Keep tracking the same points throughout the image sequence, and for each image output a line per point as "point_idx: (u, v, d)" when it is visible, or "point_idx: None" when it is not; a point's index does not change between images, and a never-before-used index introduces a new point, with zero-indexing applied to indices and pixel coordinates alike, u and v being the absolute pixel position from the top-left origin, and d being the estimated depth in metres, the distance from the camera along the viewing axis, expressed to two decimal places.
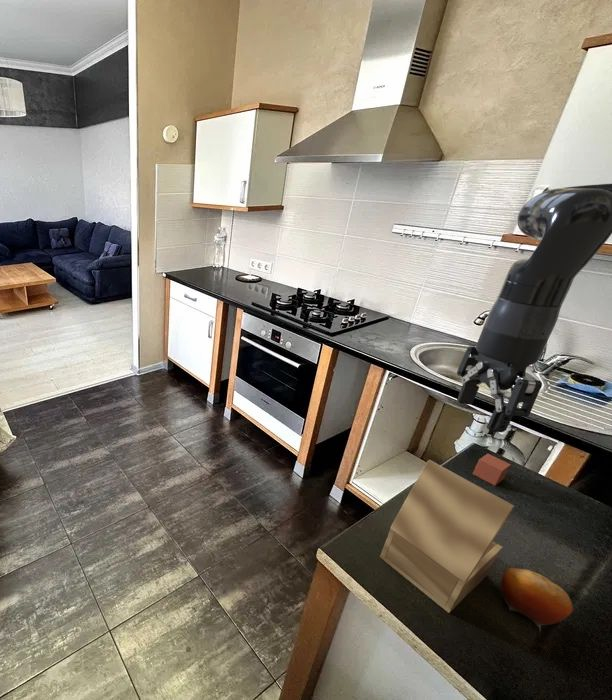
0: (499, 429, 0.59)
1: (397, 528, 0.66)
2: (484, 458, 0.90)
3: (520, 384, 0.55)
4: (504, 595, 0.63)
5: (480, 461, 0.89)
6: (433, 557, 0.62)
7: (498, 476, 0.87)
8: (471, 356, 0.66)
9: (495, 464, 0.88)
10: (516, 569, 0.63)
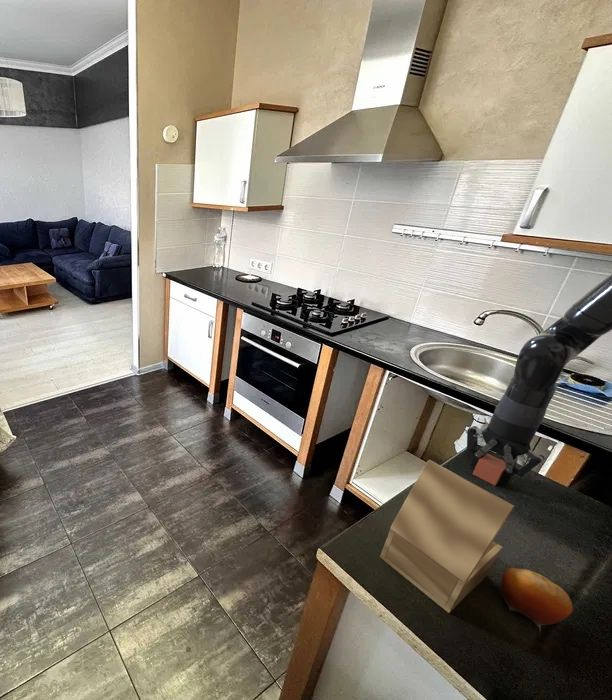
0: (507, 482, 0.87)
1: (397, 528, 0.66)
2: (484, 458, 0.90)
3: (537, 462, 0.81)
4: (504, 595, 0.63)
5: (480, 461, 0.89)
6: (433, 557, 0.62)
7: (498, 476, 0.87)
8: (475, 435, 0.90)
9: (495, 464, 0.88)
10: (516, 569, 0.63)
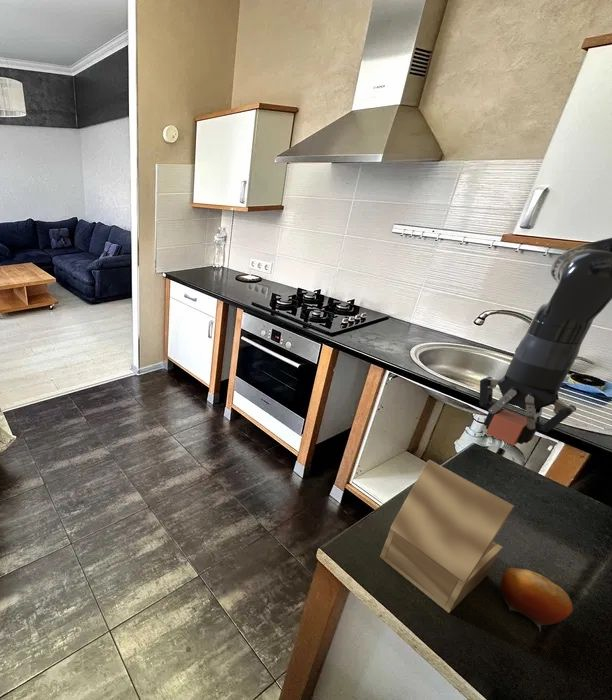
0: (528, 441, 0.72)
1: (397, 528, 0.66)
2: (500, 414, 0.75)
3: (567, 413, 0.66)
4: (504, 595, 0.63)
5: (495, 417, 0.75)
6: (433, 557, 0.62)
7: (517, 434, 0.72)
8: (490, 386, 0.75)
9: (513, 420, 0.73)
10: (516, 569, 0.63)
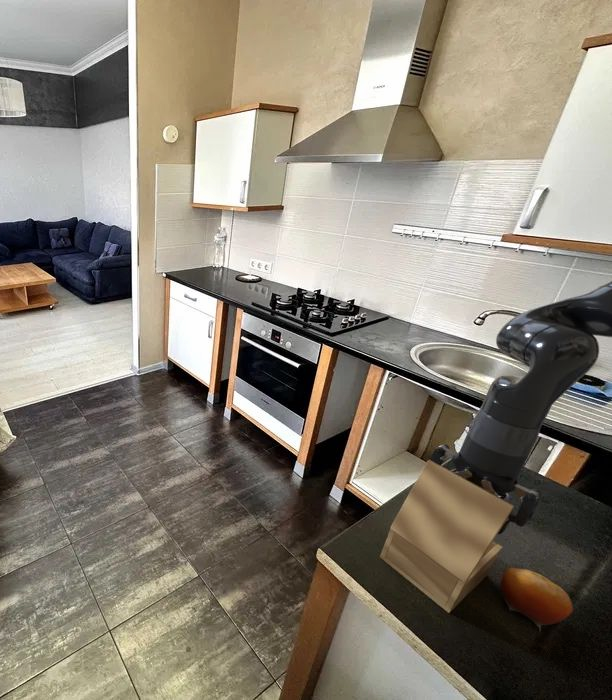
0: (501, 532, 0.61)
1: (397, 528, 0.66)
2: None
3: (532, 500, 0.56)
4: (504, 595, 0.63)
5: None
6: (433, 557, 0.62)
7: None
8: (442, 458, 0.66)
9: None
10: (516, 569, 0.63)
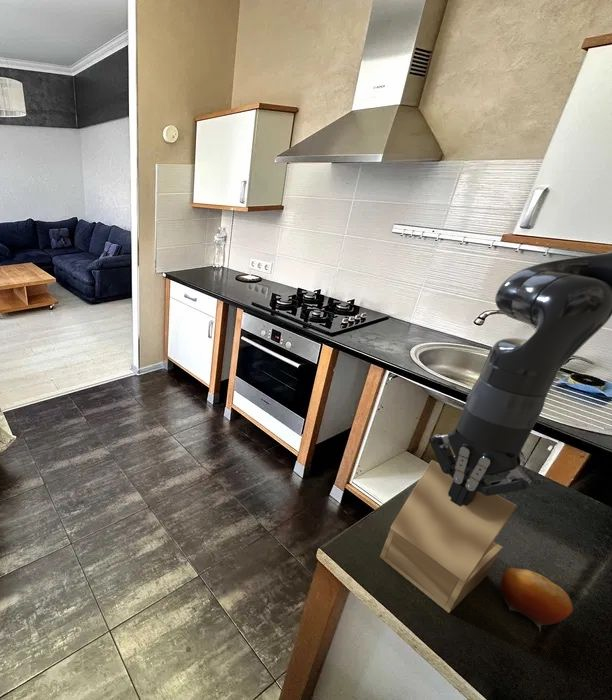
0: (468, 503, 0.59)
1: (397, 528, 0.66)
2: None
3: (522, 487, 0.52)
4: (504, 595, 0.63)
5: None
6: (433, 557, 0.62)
7: None
8: (442, 445, 0.60)
9: None
10: (516, 569, 0.63)
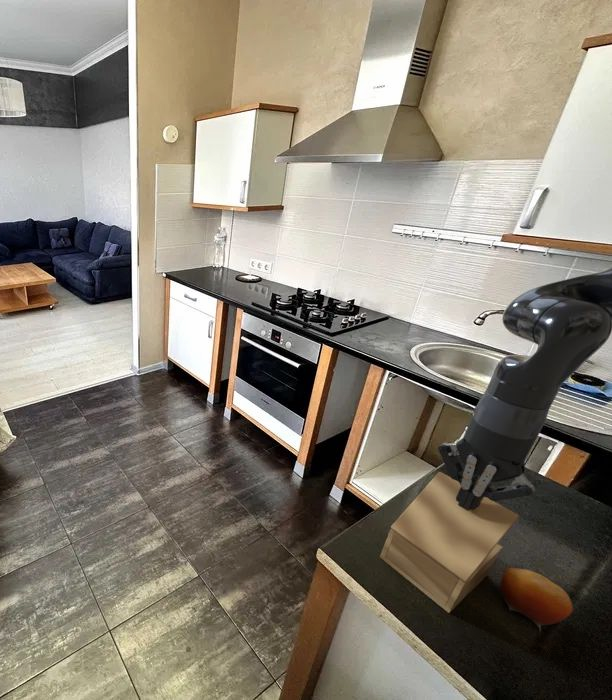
0: (475, 508, 0.63)
1: (399, 527, 0.67)
2: None
3: (526, 493, 0.56)
4: (504, 595, 0.63)
5: None
6: (434, 556, 0.62)
7: None
8: (450, 453, 0.64)
9: None
10: (516, 569, 0.63)
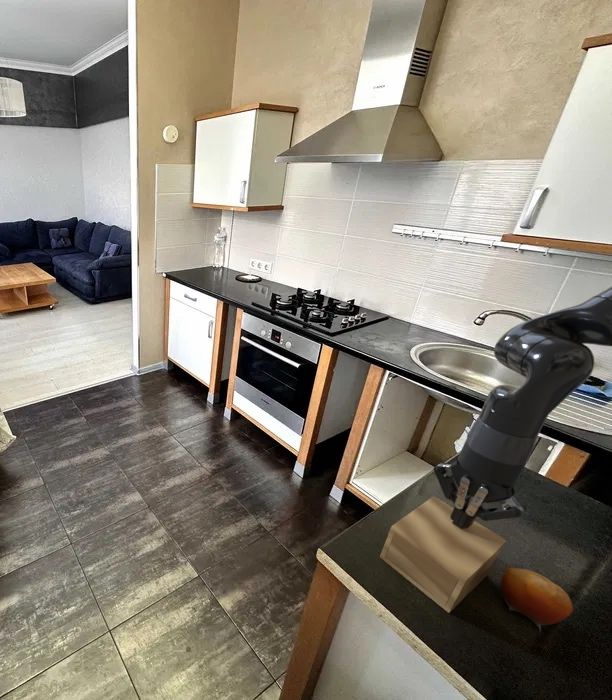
0: (468, 526, 0.66)
1: (399, 528, 0.67)
2: None
3: (515, 515, 0.59)
4: (504, 595, 0.63)
5: None
6: (435, 556, 0.62)
7: None
8: (445, 474, 0.67)
9: None
10: (516, 569, 0.63)
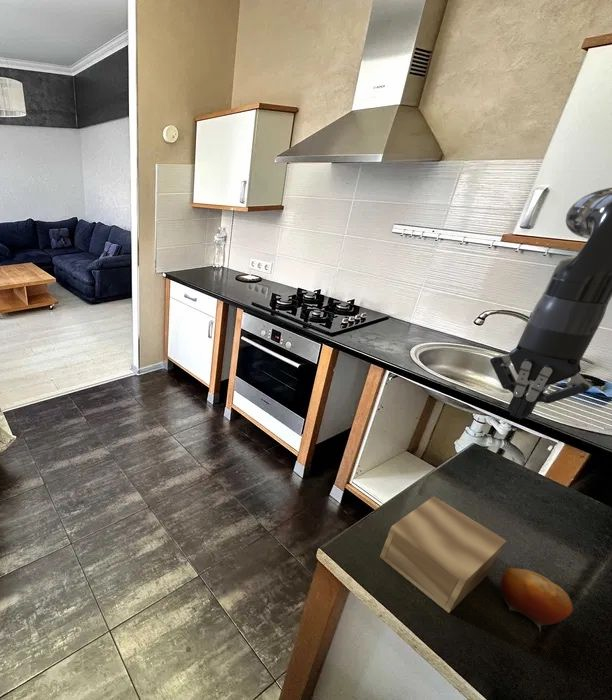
0: None
1: (399, 528, 0.67)
2: None
3: (582, 390, 0.58)
4: (504, 595, 0.63)
5: None
6: (435, 556, 0.62)
7: None
8: (503, 364, 0.66)
9: None
10: (516, 569, 0.63)
